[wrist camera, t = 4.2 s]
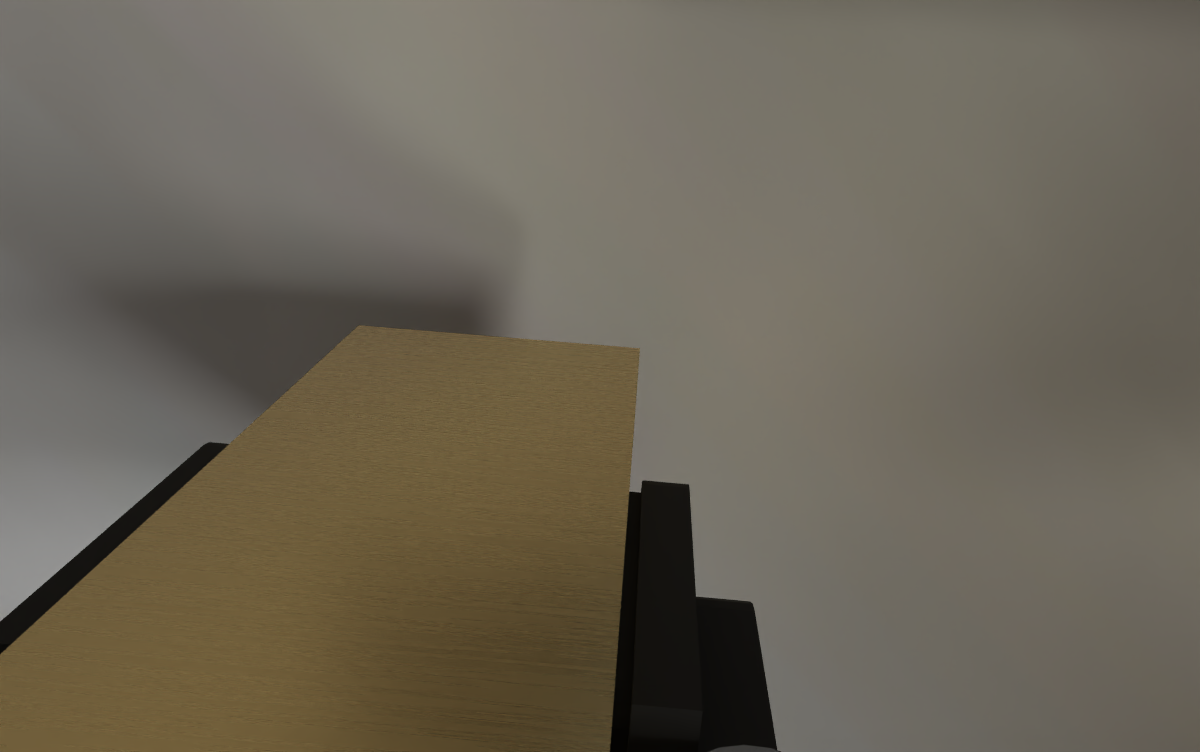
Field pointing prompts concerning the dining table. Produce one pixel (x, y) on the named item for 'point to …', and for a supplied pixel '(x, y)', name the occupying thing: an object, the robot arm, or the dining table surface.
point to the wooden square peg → (364, 569)
